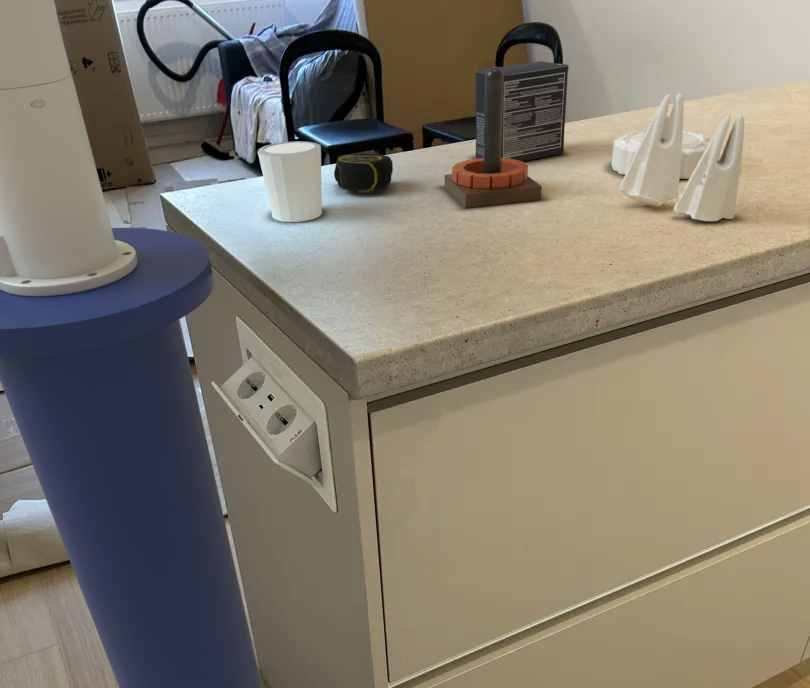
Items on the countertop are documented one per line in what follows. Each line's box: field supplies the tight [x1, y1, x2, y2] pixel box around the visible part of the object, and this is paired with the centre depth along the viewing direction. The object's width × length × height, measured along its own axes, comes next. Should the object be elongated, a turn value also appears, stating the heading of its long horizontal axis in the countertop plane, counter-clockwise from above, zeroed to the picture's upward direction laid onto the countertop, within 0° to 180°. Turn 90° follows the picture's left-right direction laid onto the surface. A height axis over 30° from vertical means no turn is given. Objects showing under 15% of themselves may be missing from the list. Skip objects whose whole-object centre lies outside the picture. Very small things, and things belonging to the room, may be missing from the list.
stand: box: [444, 66, 543, 209], centre depth 90 cm, size 9×9×13 cm
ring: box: [451, 158, 529, 189], centre depth 94 cm, size 9×9×1 cm
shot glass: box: [257, 140, 323, 223], centre depth 89 cm, size 7×7×7 cm
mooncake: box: [610, 129, 712, 180], centre depth 99 cm, size 12×12×4 cm
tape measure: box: [333, 153, 394, 194], centre depth 97 cm, size 7×7×4 cm
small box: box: [475, 60, 570, 162], centre depth 105 cm, size 11×6×10 cm, turn 118°
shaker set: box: [619, 93, 745, 222], centre depth 82 cm, size 12×4×11 cm, turn 47°
